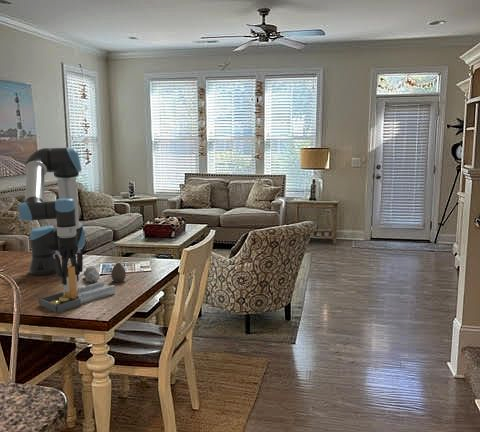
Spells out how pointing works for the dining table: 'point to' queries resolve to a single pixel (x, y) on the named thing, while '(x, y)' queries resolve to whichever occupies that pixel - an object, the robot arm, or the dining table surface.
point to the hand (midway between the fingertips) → (71, 290)
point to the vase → (118, 273)
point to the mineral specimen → (91, 274)
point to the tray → (58, 308)
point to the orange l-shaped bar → (71, 282)
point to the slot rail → (94, 292)
